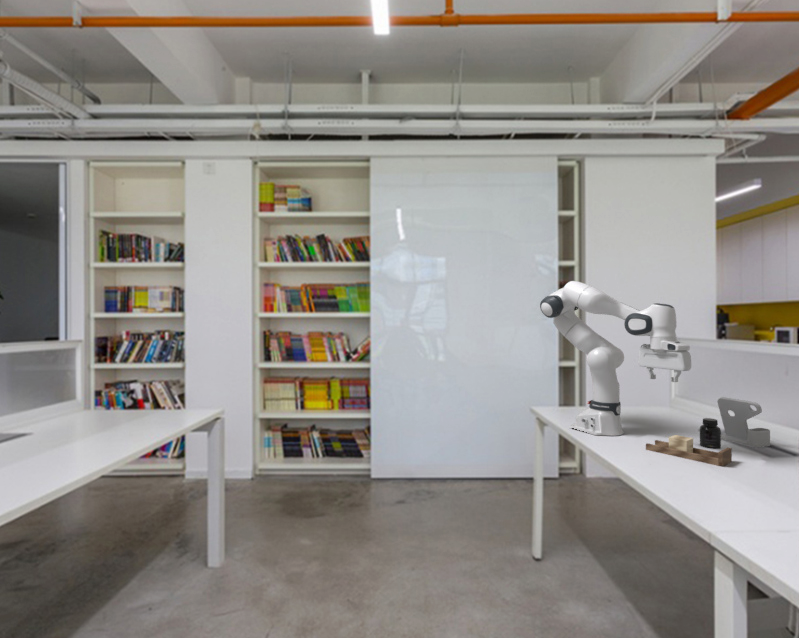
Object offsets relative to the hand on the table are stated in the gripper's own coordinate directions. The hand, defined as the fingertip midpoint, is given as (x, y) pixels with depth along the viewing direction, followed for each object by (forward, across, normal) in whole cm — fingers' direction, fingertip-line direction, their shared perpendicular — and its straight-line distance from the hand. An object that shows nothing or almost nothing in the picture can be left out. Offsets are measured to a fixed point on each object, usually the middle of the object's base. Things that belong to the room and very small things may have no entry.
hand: (663, 380), depth 175 cm
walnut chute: (+28, +10, 0) cm, 29 cm away
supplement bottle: (+28, +5, +19) cm, 34 cm away
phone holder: (+28, +2, +44) cm, 52 cm away
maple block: (+26, +8, -1) cm, 27 cm away
